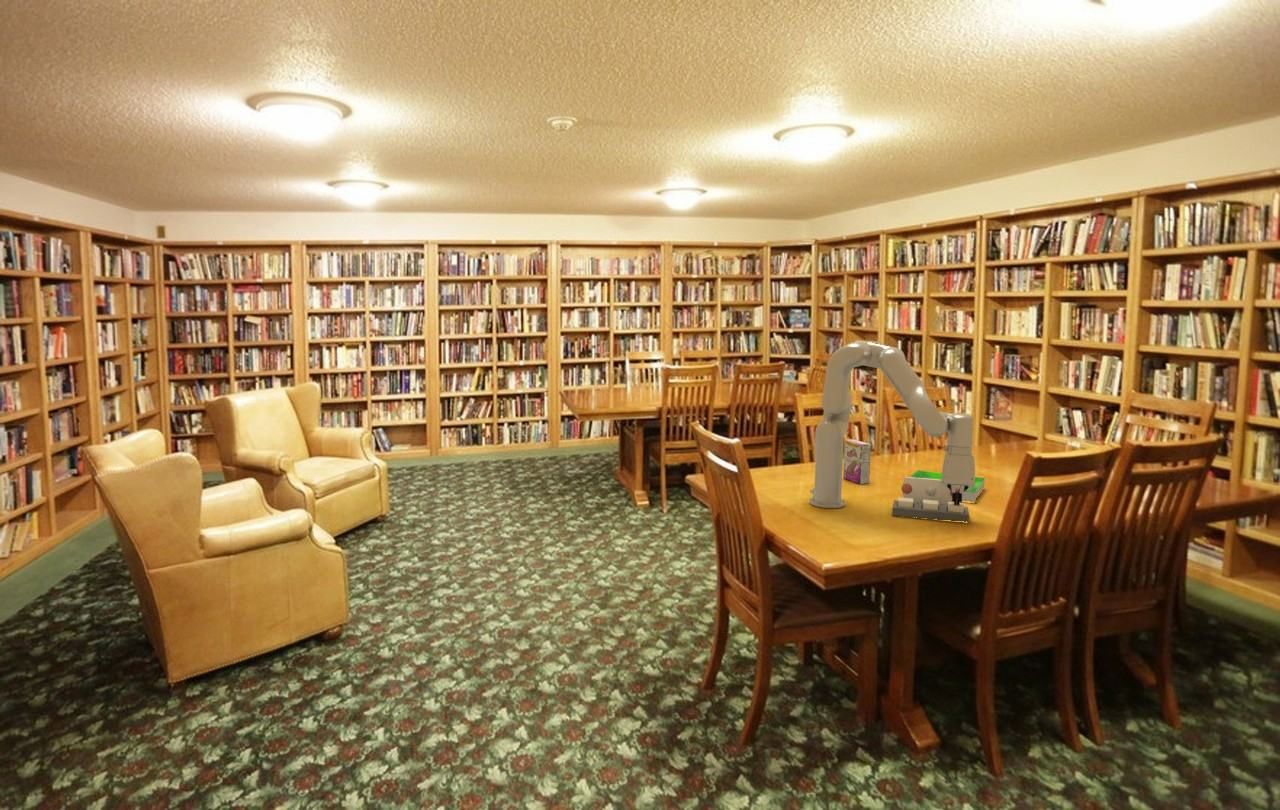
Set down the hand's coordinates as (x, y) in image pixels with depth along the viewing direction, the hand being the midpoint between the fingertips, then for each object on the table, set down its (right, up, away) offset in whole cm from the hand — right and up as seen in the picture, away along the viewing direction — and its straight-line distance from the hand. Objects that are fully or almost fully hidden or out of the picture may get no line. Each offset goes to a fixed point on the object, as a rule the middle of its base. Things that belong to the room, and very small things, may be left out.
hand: (956, 503), depth 247 cm
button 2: (0, -3, +1) cm, 3 cm away
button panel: (-7, -4, +5) cm, 10 cm away
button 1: (-15, -2, +6) cm, 17 cm away
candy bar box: (-19, +2, +52) cm, 55 cm away
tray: (+10, -1, +35) cm, 37 cm away
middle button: (-8, -3, +4) cm, 9 cm away
